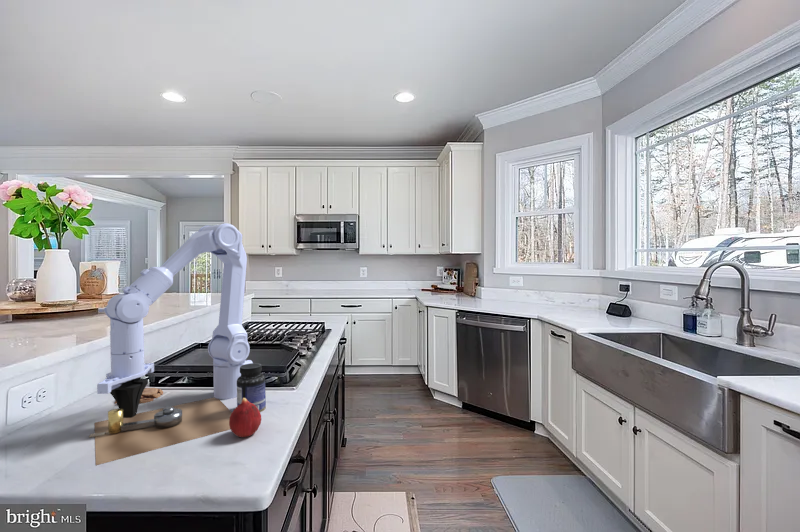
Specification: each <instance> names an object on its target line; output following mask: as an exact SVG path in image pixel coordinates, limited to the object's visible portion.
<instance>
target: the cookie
mask: <svg viewBox="0 0 800 532" xmlns="http://www.w3.org/2000/svg"><path fill="white" fill-rule="evenodd" d="M162 395H164V391H163V389H161V388H157V387H145V389H144V391H143V393H142V395H141V398H140V402H139V404H147V403H150V402H153V401H154V400H155V399H157V398H160V397H161V396H162ZM114 401H115V400H114ZM114 404H115V405H116V404H117V402H116V401H115V402H114Z"/></svg>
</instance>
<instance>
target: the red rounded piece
mask: <svg viewBox="0 0 800 532" xmlns="http://www.w3.org/2000/svg"><path fill="white" fill-rule="evenodd" d="M231 412H232V414H231V416H230V420H229V426H230V429H231V430H230V431H231V432H232V433H233V434H234V435H235V436H237V437H239V438H247V437H250V436H252V435H254V434H255V433H256V432H257V431H258V430H259V428H260V426H261V423H262V414H261V412H260V411H259V410H258V408H257V407H256V406H255V405H254V404H252V403H250V402H249V401H248V400H247V399H246V398H243V399H242V402H241V404H240V405H238V406H237V405H236V407H235V408H234V409H233V411H231Z"/></svg>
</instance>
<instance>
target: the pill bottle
mask: <svg viewBox="0 0 800 532" xmlns="http://www.w3.org/2000/svg"><path fill="white" fill-rule="evenodd" d="M262 367H263V366H262V364H261V363H257V362H253V363H250V364H245V365H242V366H240V373H241V376H240V377H239V378H238V379H237V397H236V407H237V406H238V405H240V404H241V402H242V399H243V398H246V399H247V400H248V401H249V402H250V403H252V404H254V405H255V406H256V407H257V408H258V410H259V411H260V413H261V412H263V411H265V410H266V407H267V404H266V403H267V401H266V376H265V375H264V374H263V373H262V370H263V368H262Z"/></svg>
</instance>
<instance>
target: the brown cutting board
mask: <svg viewBox="0 0 800 532" xmlns="http://www.w3.org/2000/svg"><path fill="white" fill-rule="evenodd" d="M170 407H174V409H181V410H182V422H181V423H179V424H177V425H174V426H171V427H166V428H157V427H155V426H152V427H145V428H139V429H133V430H126V431H121V432H118V433H113V434H110V433H108V419H106V420H100V421H97V422H94V432H93V433H90V435H89V436H88V438H94V447H95V450H94V451H95V466H99V465H104V464H107V463H110V462H114V461H117V460H122V459H126V458H129V457H133V456H137V455H140V454H144V453H148V452H152V451H155V450H159V449H163V448H167V447H170V446H174V445H177V444H182V443H185V442H189V441H192V440H197V439H202V438H205V437H209V436H212V435H215V434H218V433H222V432H227V431H231V429H230V426H229V420H230V416H231V414H232V412H233V411H232V410H230V409H229V408H228V407H227V406H226V405H225V403H223V401H222V400H221V399H217V398H215V397H214V396H213V397H208V398H204V399H200V400H195V401H191V402H187V403H186V402H185V403H181V404H177V405H176V404H175V405H172V406H170ZM163 408H164V407H162V408H158V409H152V410H148V411H144V412H139V413H136V415H135V416H134V417H132V418H123V423H130V422H137V421H143V420H150V419H154V415H155V414H156V413H158V412H160V411H163Z"/></svg>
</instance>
